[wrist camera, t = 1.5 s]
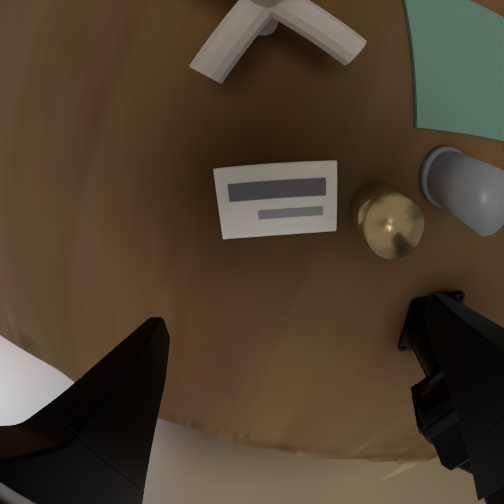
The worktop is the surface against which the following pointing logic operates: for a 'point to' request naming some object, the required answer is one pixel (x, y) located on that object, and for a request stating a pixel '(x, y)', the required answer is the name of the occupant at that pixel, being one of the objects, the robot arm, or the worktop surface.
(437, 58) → the mat
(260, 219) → the label tile
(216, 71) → the pipe connector
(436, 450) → the robot arm
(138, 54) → the worktop surface
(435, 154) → the cylinder
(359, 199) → the brass fitting
